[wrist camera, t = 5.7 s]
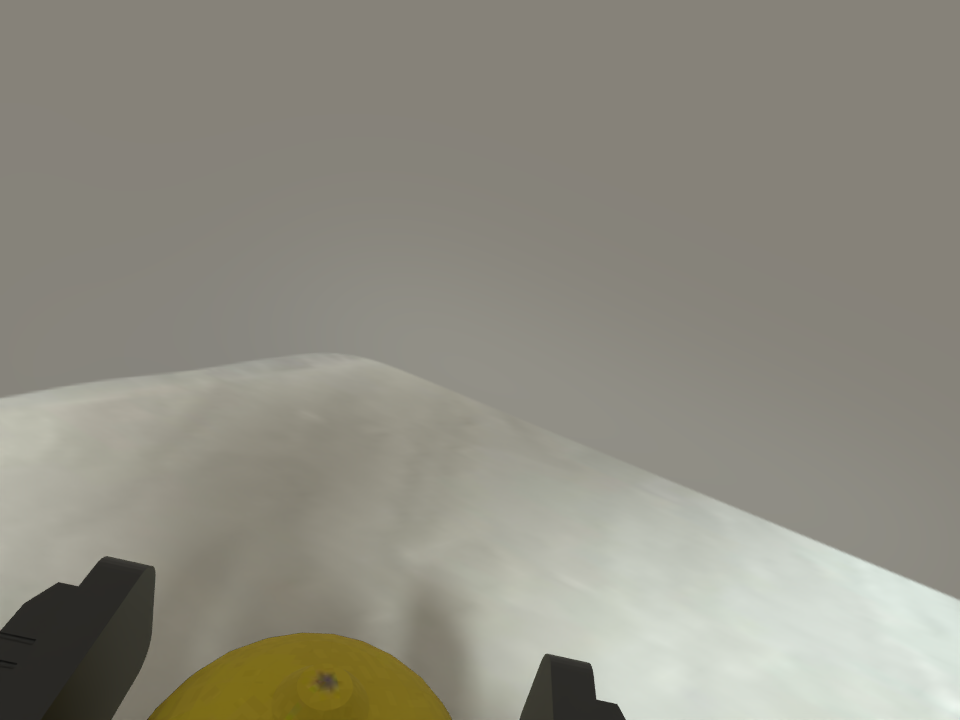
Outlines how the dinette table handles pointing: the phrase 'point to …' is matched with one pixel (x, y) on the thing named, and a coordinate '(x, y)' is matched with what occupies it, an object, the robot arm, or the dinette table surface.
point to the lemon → (304, 684)
